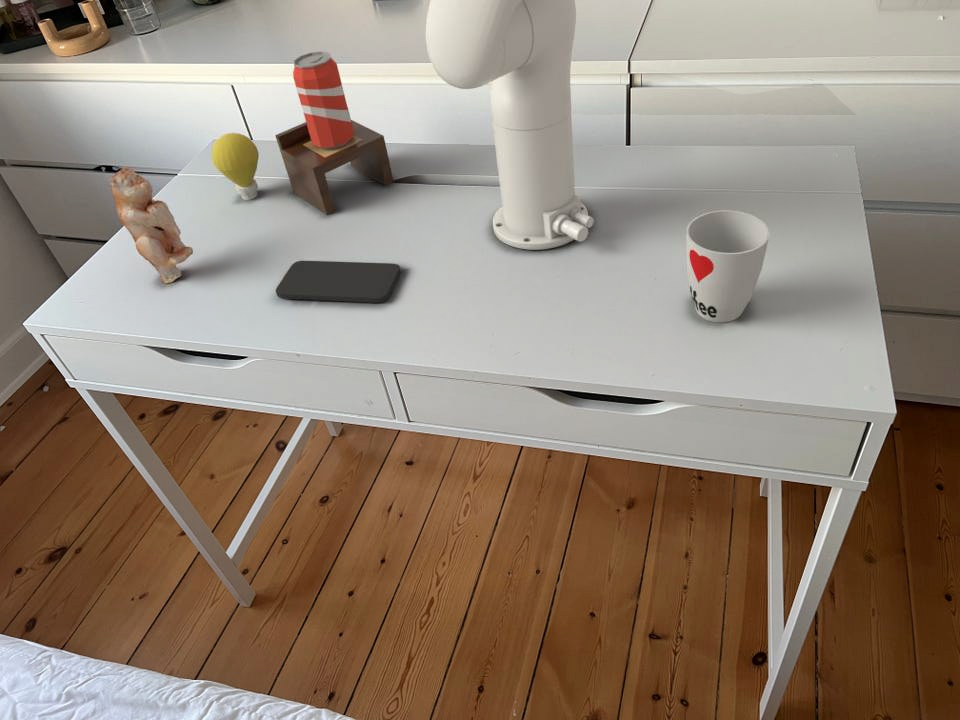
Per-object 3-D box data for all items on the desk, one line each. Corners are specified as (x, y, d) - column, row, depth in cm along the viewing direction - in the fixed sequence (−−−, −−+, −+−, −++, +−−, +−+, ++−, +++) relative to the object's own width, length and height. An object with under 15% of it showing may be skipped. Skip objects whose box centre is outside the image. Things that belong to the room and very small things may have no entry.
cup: (673, 291, 88) (677, 216, 82) (743, 281, 88) (753, 205, 82) (693, 336, 82) (699, 259, 76) (769, 325, 82) (782, 247, 76)
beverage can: (363, 133, 113) (343, 50, 105) (340, 153, 108) (318, 69, 101) (328, 129, 115) (306, 49, 107) (304, 150, 111) (280, 67, 103)
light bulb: (280, 189, 119) (260, 128, 113) (249, 210, 115) (226, 149, 109) (250, 181, 122) (228, 122, 116) (219, 202, 118) (195, 142, 112)
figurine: (189, 287, 102) (142, 186, 92) (139, 286, 104) (87, 187, 94) (210, 260, 106) (167, 161, 96) (161, 259, 108) (115, 162, 98)
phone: (384, 299, 93) (272, 294, 96) (386, 304, 93) (273, 299, 97) (402, 263, 98) (294, 259, 102) (403, 268, 99) (296, 264, 102)
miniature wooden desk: (394, 181, 116) (380, 122, 110) (326, 215, 111) (309, 155, 105) (358, 162, 123) (344, 105, 116) (293, 193, 118) (274, 135, 111)
